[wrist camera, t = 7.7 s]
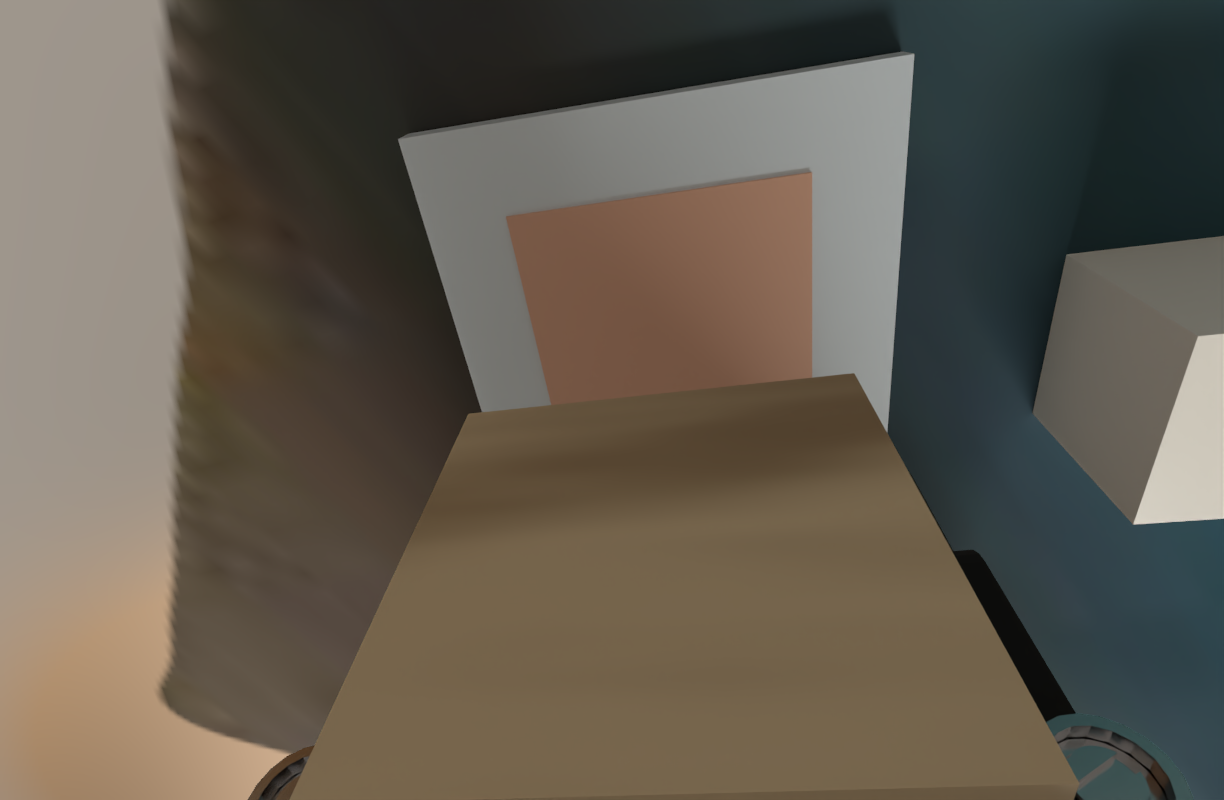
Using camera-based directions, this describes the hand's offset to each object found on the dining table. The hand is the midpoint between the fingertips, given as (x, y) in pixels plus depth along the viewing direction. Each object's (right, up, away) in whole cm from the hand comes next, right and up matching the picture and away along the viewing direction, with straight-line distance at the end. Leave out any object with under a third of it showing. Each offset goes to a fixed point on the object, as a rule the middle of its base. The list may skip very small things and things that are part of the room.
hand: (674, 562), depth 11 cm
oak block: (0, 0, +1) cm, 1 cm away
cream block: (+14, +5, +7) cm, 16 cm away
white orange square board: (+1, +5, +8) cm, 9 cm away
